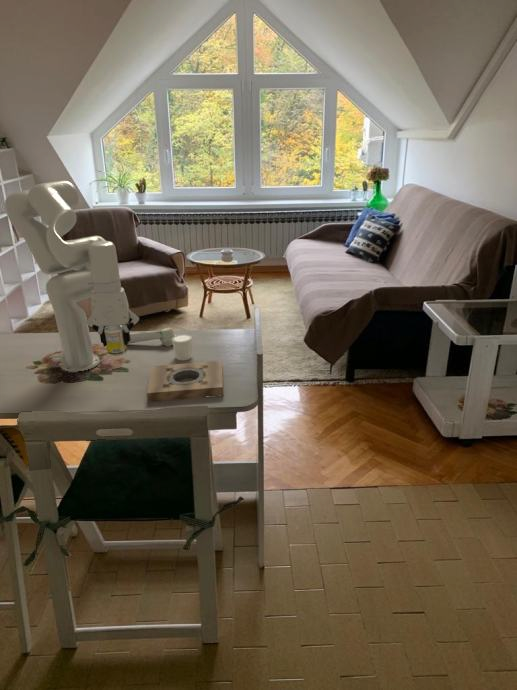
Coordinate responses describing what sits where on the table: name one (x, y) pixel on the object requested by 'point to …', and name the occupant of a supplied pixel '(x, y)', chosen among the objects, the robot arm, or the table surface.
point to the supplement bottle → (115, 340)
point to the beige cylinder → (182, 346)
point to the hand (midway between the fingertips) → (116, 343)
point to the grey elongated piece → (154, 336)
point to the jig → (169, 388)
